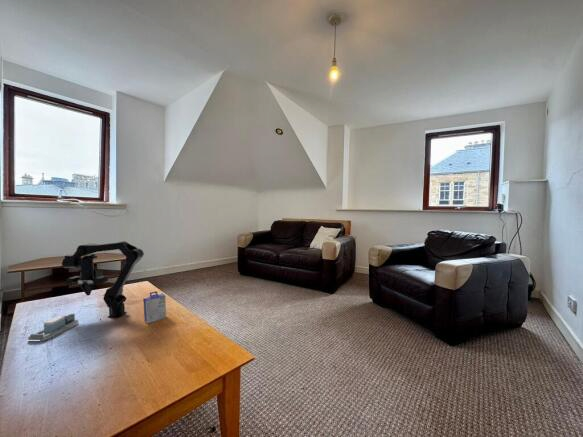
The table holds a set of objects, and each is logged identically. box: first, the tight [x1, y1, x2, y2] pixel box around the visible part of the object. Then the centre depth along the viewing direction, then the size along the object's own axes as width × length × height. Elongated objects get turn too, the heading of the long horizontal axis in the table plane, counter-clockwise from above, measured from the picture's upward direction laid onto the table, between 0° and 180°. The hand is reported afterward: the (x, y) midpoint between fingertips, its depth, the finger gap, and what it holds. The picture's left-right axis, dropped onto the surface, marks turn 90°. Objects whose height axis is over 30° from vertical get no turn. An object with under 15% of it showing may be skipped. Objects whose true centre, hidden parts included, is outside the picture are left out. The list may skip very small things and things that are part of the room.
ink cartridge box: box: [142, 291, 167, 324], centre depth 132 cm, size 10×6×14 cm, turn 134°
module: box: [43, 316, 65, 333], centre depth 119 cm, size 4×6×5 cm
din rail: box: [27, 313, 79, 342], centre depth 119 cm, size 8×17×6 cm, turn 178°
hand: (88, 295), depth 135 cm, fingers closed
